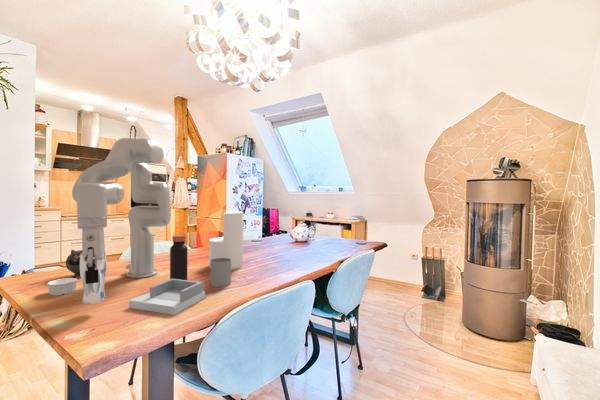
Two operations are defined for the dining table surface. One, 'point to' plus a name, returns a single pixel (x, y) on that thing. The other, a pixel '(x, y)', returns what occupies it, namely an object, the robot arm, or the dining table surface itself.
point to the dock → (170, 296)
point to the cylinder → (229, 240)
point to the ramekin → (62, 286)
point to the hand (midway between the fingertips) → (93, 279)
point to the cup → (220, 272)
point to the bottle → (178, 258)
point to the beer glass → (94, 290)
